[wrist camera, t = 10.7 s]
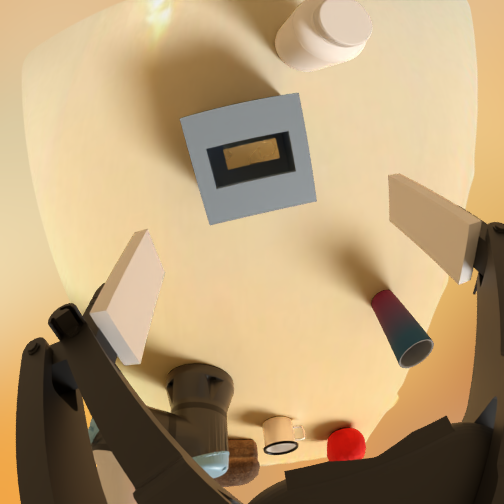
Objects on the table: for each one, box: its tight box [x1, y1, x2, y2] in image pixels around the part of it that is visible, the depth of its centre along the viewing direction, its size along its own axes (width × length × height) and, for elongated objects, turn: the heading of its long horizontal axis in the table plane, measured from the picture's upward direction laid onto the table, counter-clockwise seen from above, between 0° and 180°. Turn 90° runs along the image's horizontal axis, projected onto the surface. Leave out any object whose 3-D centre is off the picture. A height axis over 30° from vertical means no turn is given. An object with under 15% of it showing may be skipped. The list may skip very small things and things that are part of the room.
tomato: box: [327, 428, 366, 461], centre depth 76 cm, size 16×14×14 cm
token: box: [223, 134, 280, 170], centre depth 34 cm, size 6×2×6 cm, turn 103°
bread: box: [213, 440, 260, 487], centre depth 72 cm, size 15×32×16 cm, turn 81°
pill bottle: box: [275, 0, 372, 72], centre depth 24 cm, size 8×8×15 cm
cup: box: [371, 290, 434, 368], centre depth 46 cm, size 7×7×15 cm
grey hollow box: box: [180, 93, 317, 225], centre depth 33 cm, size 12×12×10 cm
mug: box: [263, 417, 306, 455], centre depth 69 cm, size 12×9×9 cm
